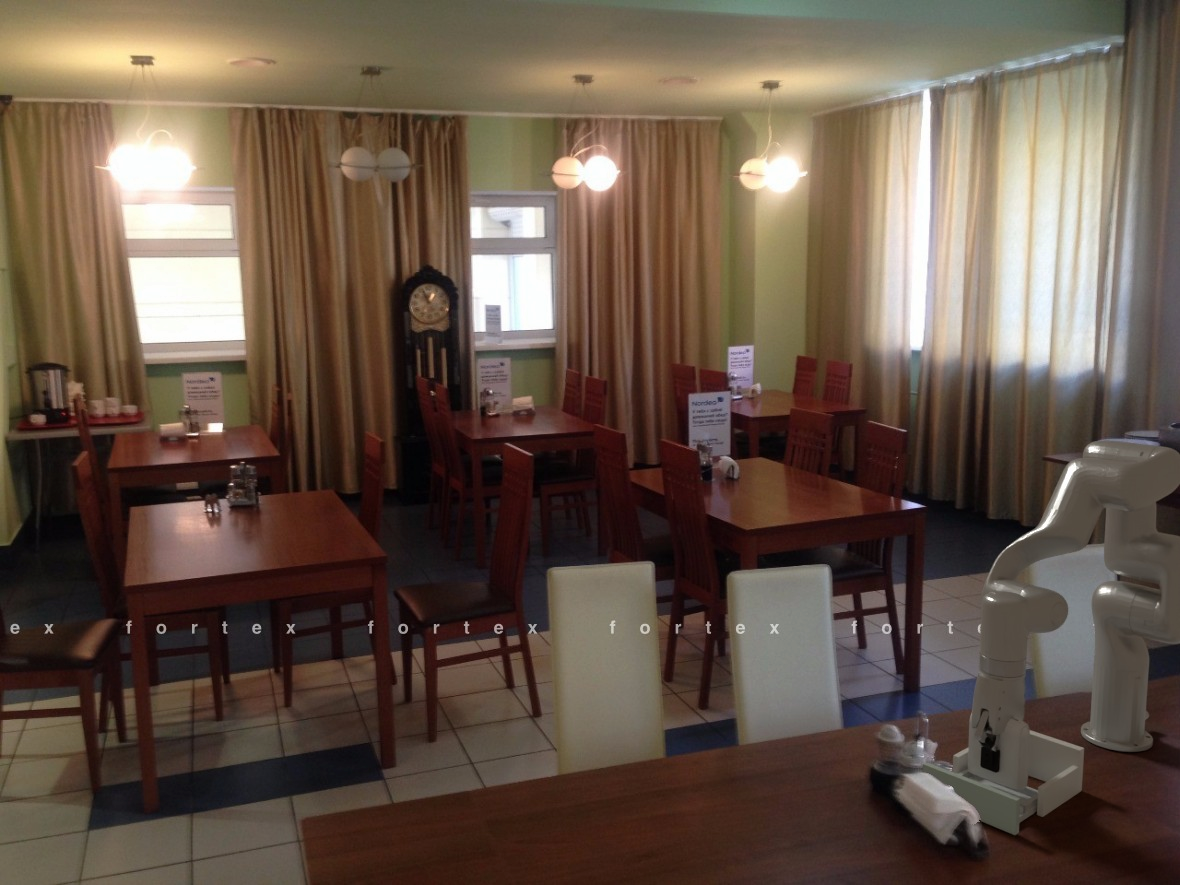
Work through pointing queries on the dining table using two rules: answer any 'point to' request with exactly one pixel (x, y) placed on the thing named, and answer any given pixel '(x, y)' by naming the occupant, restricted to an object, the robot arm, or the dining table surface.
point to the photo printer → (1004, 755)
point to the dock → (1047, 769)
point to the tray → (990, 798)
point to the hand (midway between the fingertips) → (997, 764)
